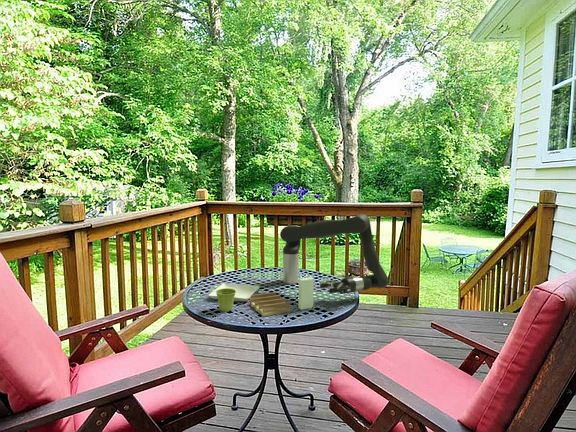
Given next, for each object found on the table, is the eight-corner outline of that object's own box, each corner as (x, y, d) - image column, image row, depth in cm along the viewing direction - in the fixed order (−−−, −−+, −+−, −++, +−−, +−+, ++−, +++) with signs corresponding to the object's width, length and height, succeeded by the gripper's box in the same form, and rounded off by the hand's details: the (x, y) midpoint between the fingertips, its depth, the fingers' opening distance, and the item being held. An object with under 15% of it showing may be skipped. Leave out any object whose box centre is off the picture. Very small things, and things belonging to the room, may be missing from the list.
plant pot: (237, 305, 181) (237, 288, 180) (235, 313, 172) (235, 294, 171) (217, 305, 181) (217, 288, 180) (214, 313, 172) (214, 294, 171)
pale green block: (298, 307, 180) (298, 278, 178) (310, 305, 183) (310, 277, 181) (301, 309, 177) (301, 280, 176) (313, 307, 180) (313, 278, 179)
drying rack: (249, 304, 184) (249, 295, 183) (275, 300, 190) (276, 291, 189) (262, 316, 169) (262, 306, 168) (291, 311, 175) (291, 302, 174)
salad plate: (248, 304, 184) (248, 297, 184) (207, 301, 188) (207, 294, 188) (260, 291, 205) (260, 285, 204) (223, 288, 209) (223, 282, 208)
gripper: (344, 273, 197) (317, 277, 190) (361, 281, 184) (333, 285, 177) (344, 287, 197) (317, 291, 190) (360, 296, 185) (332, 300, 178)
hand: (324, 288), depth 184 cm, fingers open, 8 cm apart
